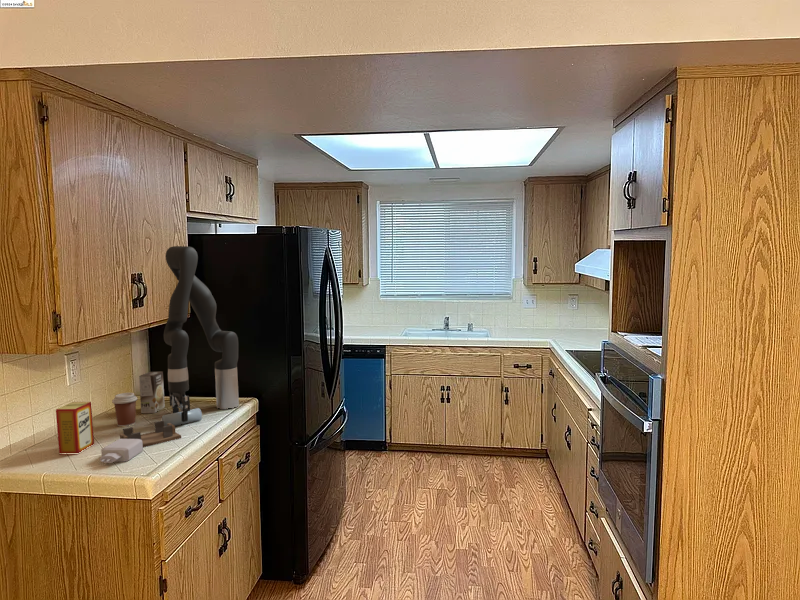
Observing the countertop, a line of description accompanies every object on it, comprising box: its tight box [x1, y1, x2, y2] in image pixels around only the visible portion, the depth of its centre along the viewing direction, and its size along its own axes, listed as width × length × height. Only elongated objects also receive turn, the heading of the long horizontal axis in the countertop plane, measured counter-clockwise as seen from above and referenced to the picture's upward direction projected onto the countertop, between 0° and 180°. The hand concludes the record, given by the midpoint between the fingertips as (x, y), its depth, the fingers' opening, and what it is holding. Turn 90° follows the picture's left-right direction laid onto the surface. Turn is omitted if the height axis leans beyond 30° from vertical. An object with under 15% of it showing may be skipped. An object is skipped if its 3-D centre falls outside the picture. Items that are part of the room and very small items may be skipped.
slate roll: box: [161, 407, 203, 427], centre depth 226 cm, size 14×5×5 cm
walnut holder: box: [114, 419, 182, 448], centre depth 206 cm, size 12×19×5 cm, turn 133°
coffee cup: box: [111, 392, 138, 427], centre depth 227 cm, size 9×9×12 cm
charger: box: [99, 438, 144, 464], centre depth 188 cm, size 5×9×15 cm
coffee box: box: [138, 371, 166, 414], centre depth 246 cm, size 9×6×16 cm
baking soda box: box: [55, 401, 95, 454], centre depth 198 cm, size 10×6×16 cm
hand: (180, 419), depth 227 cm, fingers open, 8 cm apart
